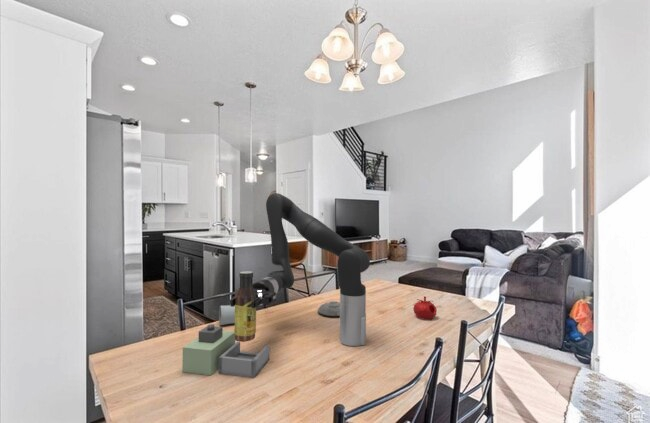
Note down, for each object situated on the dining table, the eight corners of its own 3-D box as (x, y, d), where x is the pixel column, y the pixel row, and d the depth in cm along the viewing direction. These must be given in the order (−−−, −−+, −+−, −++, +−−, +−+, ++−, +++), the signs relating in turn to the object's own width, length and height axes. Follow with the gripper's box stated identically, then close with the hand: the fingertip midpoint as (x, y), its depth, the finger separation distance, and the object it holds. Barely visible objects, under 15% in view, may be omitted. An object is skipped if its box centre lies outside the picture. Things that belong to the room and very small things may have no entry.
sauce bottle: (250, 343, 87) (250, 274, 87) (230, 341, 88) (230, 273, 89) (259, 334, 94) (260, 270, 94) (240, 333, 95) (241, 269, 95)
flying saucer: (350, 309, 148) (350, 297, 148) (349, 319, 133) (349, 307, 133) (319, 307, 150) (320, 296, 150) (315, 318, 135) (315, 305, 135)
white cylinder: (241, 324, 125) (241, 306, 125) (220, 328, 121) (220, 308, 121) (236, 317, 134) (236, 300, 134) (217, 320, 131) (217, 302, 131)
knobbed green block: (271, 357, 97) (271, 321, 97) (252, 380, 83) (252, 339, 83) (210, 350, 101) (210, 316, 101) (182, 371, 87) (183, 332, 87)
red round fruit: (412, 319, 133) (412, 298, 133) (414, 312, 143) (414, 293, 143) (436, 322, 130) (435, 300, 130) (437, 315, 139) (436, 294, 139)
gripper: (245, 277, 107) (219, 289, 90) (284, 280, 104) (265, 292, 87) (245, 299, 107) (219, 315, 90) (284, 302, 104) (264, 318, 87)
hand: (242, 304), depth 89 cm, fingers closed on sauce bottle, 6 cm apart
